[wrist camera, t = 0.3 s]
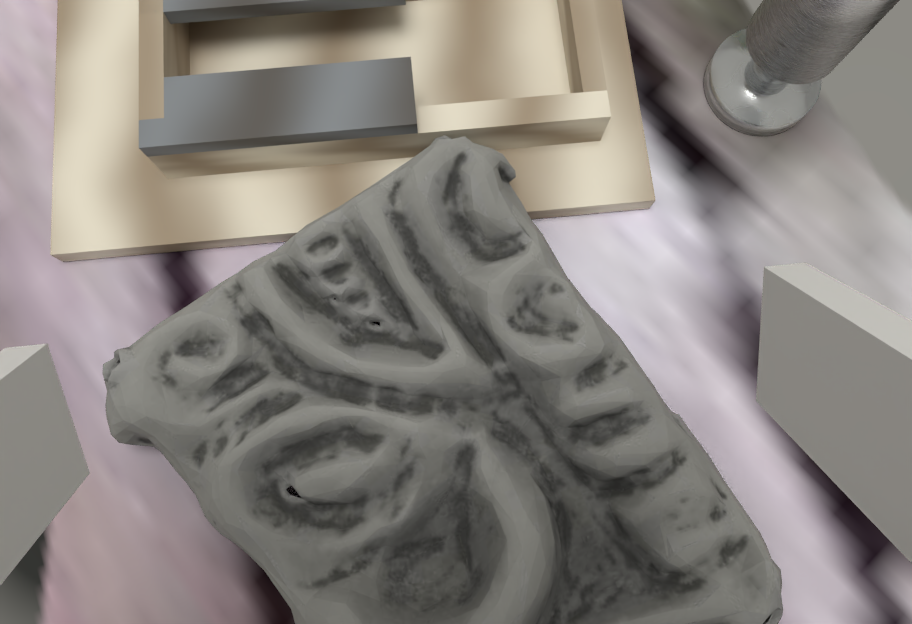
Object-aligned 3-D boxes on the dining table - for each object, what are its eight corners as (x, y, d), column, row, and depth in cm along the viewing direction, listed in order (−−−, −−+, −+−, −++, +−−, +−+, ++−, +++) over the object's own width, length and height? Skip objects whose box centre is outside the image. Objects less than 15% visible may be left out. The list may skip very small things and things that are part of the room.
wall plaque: (92, 375, 29) (38, 366, 25) (467, 130, 31) (470, 87, 27) (414, 901, 26) (408, 982, 22) (808, 587, 28) (866, 611, 24)
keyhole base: (601, -77, 35) (620, -146, 31) (649, 208, 31) (677, 171, 28) (70, -35, 34) (21, -100, 30) (63, 261, 31) (6, 231, 27)
